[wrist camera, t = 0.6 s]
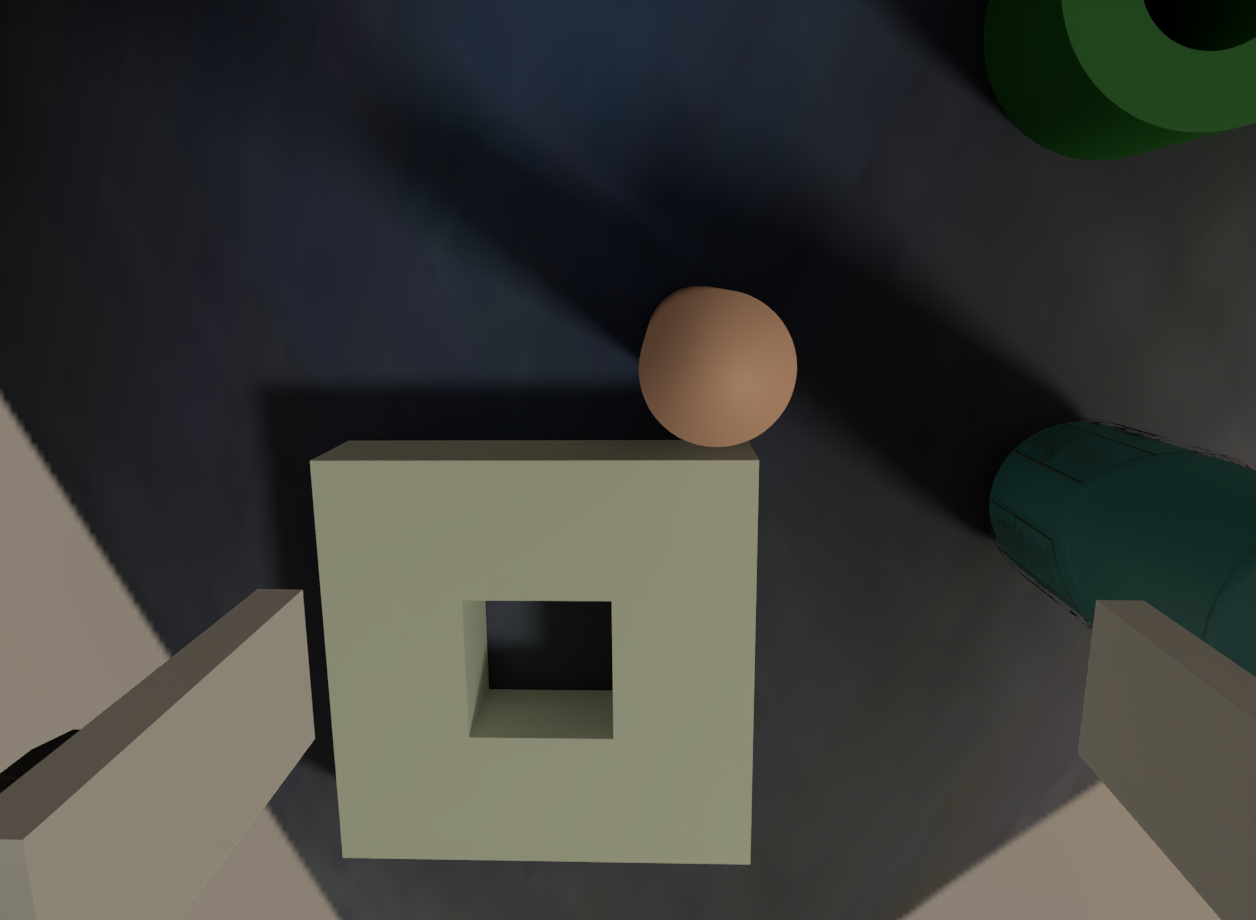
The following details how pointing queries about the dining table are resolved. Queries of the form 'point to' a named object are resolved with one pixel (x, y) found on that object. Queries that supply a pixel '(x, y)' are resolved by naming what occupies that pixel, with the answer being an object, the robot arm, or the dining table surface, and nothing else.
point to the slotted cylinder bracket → (1121, 72)
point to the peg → (716, 366)
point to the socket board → (540, 719)
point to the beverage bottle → (1134, 528)
